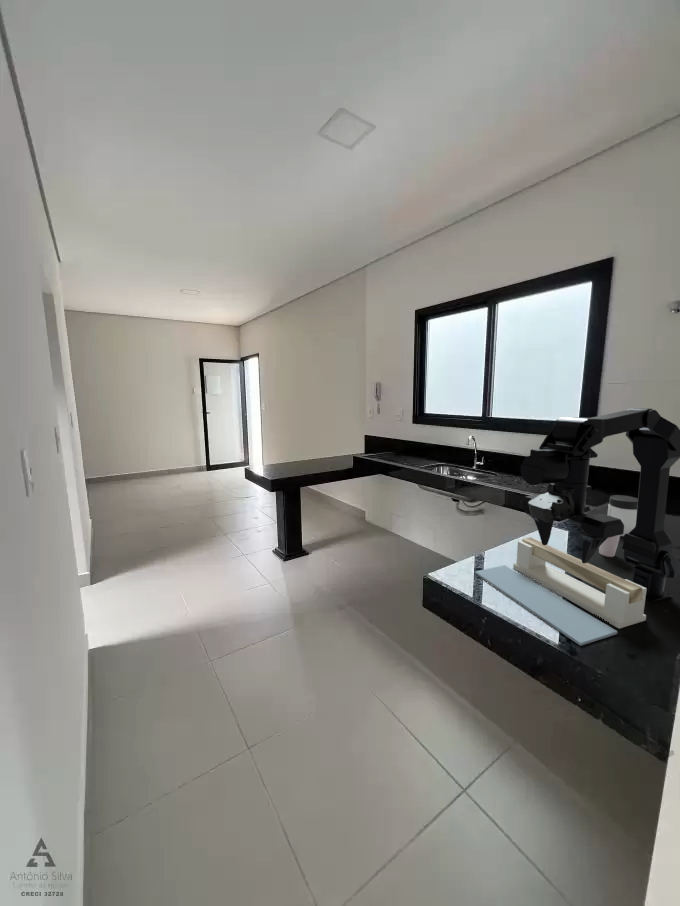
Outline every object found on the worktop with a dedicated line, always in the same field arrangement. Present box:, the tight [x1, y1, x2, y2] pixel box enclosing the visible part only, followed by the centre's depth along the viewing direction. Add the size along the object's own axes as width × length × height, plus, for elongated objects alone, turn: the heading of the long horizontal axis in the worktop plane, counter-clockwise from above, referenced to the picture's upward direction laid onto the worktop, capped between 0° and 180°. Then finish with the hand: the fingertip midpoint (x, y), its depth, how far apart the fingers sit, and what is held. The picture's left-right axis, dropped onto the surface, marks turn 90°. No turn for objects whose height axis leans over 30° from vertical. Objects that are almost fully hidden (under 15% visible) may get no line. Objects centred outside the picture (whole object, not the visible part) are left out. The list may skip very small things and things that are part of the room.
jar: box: [606, 494, 638, 537], centre depth 123 cm, size 9×8×12 cm
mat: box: [474, 565, 618, 647], centre depth 85 cm, size 10×30×1 cm, turn 19°
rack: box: [512, 538, 647, 629], centre depth 88 cm, size 8×28×8 cm, turn 19°
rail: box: [521, 537, 642, 604], centre depth 87 cm, size 3×28×3 cm, turn 19°
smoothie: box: [598, 508, 621, 558], centre depth 107 cm, size 6×6×14 cm
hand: (563, 553), depth 76 cm, fingers open, 9 cm apart
